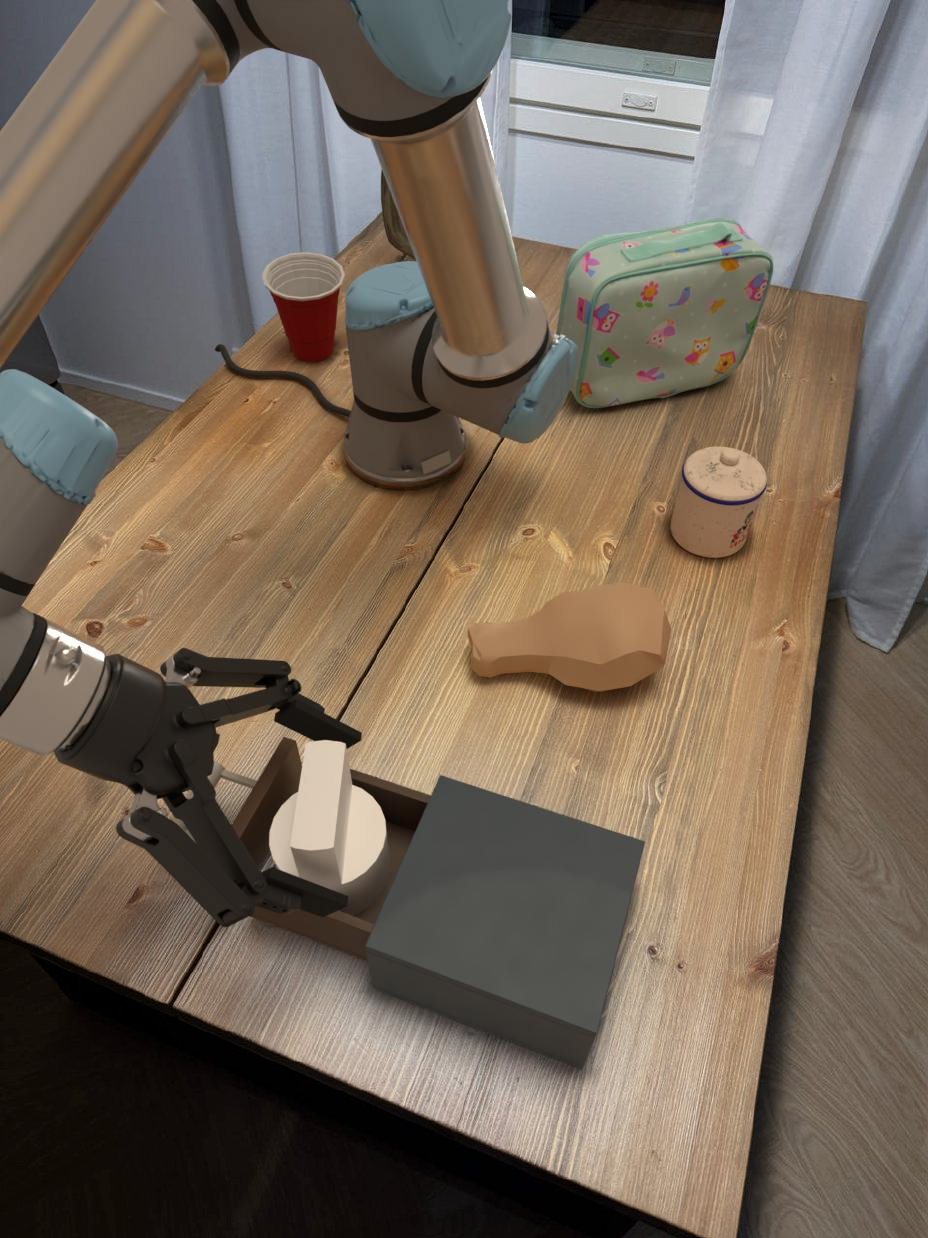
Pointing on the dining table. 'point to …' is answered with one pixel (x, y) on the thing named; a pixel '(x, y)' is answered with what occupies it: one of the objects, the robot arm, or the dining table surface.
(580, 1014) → the cabinet
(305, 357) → the plastic cup
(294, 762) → the drawer
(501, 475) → the dining table surface
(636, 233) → the lunch box
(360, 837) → the cylinder with rectangular tab
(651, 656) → the squash
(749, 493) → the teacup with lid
